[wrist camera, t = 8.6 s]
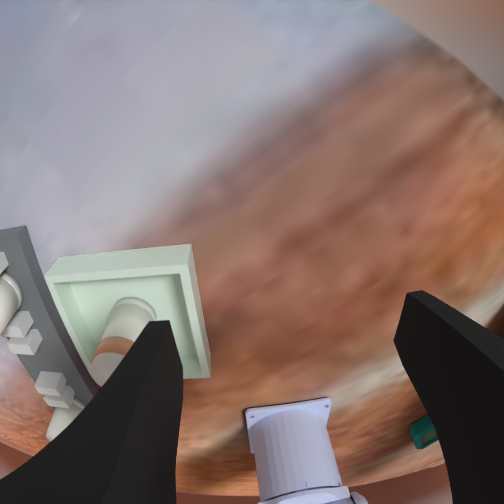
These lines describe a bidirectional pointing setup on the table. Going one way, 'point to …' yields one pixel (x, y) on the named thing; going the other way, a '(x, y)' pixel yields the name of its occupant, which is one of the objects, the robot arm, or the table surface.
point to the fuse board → (41, 328)
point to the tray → (132, 285)
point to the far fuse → (63, 418)
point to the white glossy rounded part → (9, 298)
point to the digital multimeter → (423, 432)
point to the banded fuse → (120, 335)
